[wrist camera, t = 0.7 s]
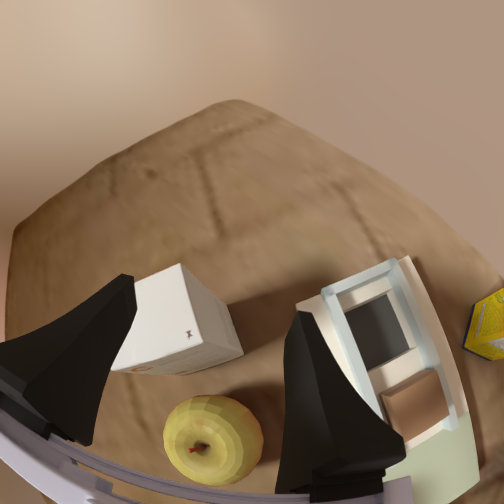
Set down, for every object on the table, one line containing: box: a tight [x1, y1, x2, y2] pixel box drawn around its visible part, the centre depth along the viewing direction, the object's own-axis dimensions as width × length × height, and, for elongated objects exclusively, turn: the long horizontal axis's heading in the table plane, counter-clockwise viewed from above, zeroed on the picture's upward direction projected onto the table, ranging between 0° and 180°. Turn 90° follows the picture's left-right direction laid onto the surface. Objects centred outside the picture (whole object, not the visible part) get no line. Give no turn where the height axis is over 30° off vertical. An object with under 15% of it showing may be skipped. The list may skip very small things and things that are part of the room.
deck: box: [296, 255, 480, 504], centre depth 20 cm, size 32×14×4 cm, turn 18°
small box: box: [111, 263, 244, 376], centre depth 24 cm, size 8×6×13 cm
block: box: [378, 370, 450, 443], centre depth 19 cm, size 5×5×4 cm
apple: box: [163, 395, 264, 486], centre depth 21 cm, size 10×10×8 cm
